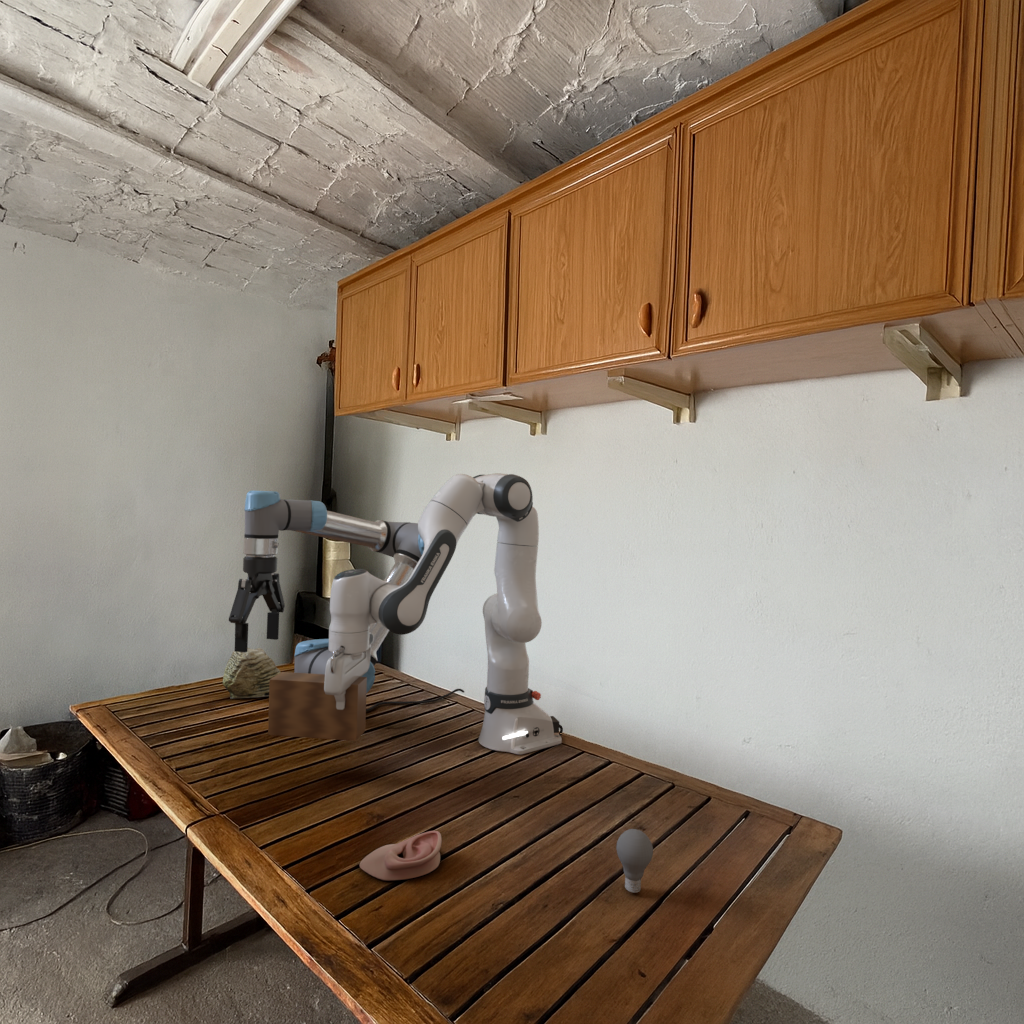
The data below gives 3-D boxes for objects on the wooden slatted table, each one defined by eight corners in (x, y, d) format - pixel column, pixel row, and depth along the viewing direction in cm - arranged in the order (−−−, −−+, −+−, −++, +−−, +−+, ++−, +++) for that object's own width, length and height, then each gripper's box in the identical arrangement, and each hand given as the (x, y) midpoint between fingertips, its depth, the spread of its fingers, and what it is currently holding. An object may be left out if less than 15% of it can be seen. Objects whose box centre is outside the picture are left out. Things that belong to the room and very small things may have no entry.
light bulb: (610, 879, 108) (613, 822, 108) (644, 879, 109) (647, 822, 109) (619, 902, 102) (622, 840, 102) (655, 901, 103) (658, 840, 103)
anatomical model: (352, 851, 106) (379, 818, 118) (351, 875, 106) (379, 839, 118) (427, 864, 104) (448, 829, 115) (426, 888, 104) (447, 850, 115)
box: (267, 734, 141) (269, 679, 141) (280, 724, 147) (282, 671, 147) (356, 741, 139) (358, 684, 139) (365, 730, 146) (367, 677, 145)
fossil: (218, 695, 195) (220, 647, 195) (278, 685, 208) (279, 640, 207) (228, 703, 189) (230, 653, 188) (289, 692, 201) (290, 645, 201)
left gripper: (245, 561, 137) (241, 659, 137) (300, 552, 161) (297, 635, 162) (213, 559, 138) (210, 656, 138) (273, 551, 163) (270, 633, 163)
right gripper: (346, 653, 132) (344, 719, 132) (376, 633, 152) (374, 690, 152) (317, 652, 132) (315, 717, 133) (350, 631, 153) (348, 688, 153)
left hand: (257, 645), depth 150 cm, fingers open, 13 cm apart
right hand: (347, 702), depth 143 cm, fingers closed on box, 6 cm apart
